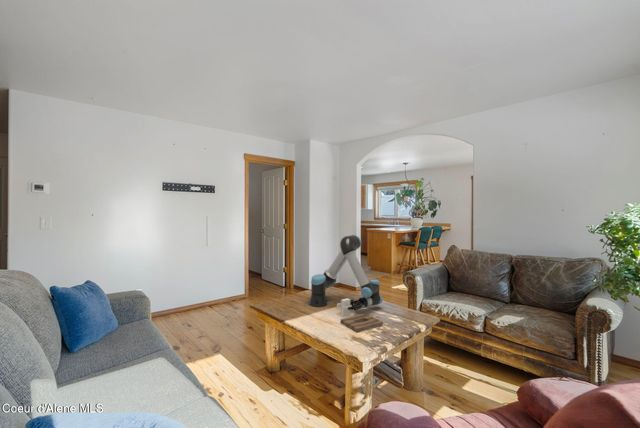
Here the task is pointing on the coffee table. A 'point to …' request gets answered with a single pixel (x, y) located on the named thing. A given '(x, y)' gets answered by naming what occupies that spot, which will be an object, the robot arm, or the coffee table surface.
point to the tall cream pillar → (344, 304)
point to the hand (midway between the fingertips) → (340, 307)
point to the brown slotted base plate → (357, 326)
